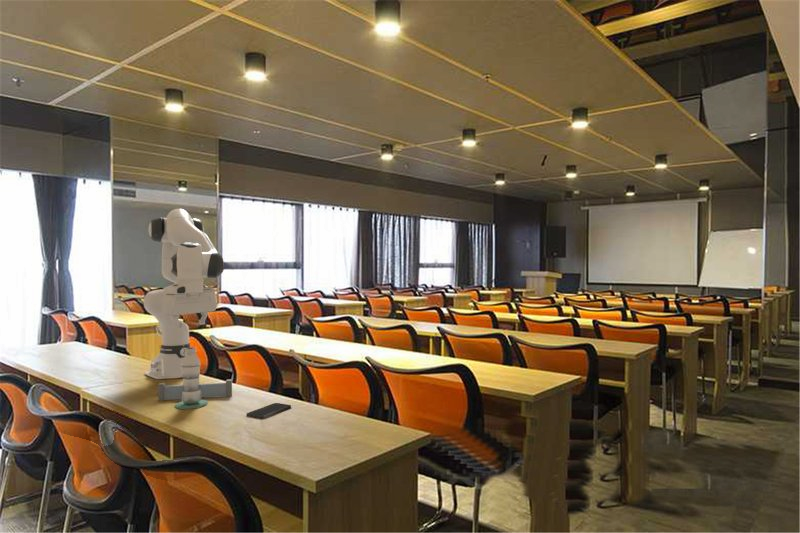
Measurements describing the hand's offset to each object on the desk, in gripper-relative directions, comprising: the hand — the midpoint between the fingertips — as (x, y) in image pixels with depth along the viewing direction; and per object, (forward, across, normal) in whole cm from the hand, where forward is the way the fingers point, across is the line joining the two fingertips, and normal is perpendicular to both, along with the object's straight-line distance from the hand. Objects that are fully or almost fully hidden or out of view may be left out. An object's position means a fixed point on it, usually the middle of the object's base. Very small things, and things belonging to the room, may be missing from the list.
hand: (190, 326), depth 184 cm
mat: (+28, 0, 0) cm, 28 cm away
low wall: (+28, -7, -7) cm, 30 cm away
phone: (+29, -9, +30) cm, 43 cm away
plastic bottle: (+28, 0, 0) cm, 28 cm away
